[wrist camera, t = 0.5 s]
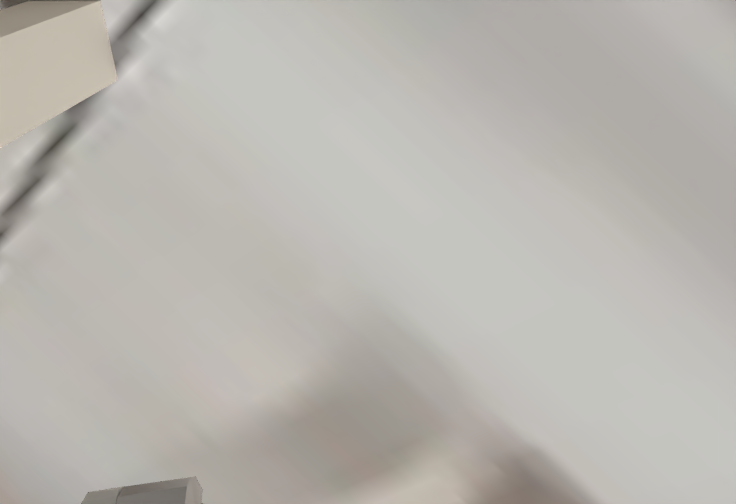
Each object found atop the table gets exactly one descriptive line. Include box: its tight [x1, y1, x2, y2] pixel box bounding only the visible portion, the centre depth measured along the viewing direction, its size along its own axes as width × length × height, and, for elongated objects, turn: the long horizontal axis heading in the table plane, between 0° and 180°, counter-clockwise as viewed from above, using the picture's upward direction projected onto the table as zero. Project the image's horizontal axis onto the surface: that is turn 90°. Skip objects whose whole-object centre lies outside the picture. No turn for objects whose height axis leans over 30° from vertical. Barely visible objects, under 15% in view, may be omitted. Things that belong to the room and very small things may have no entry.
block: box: [0, 0, 118, 148], centre depth 40 cm, size 5×5×12 cm
